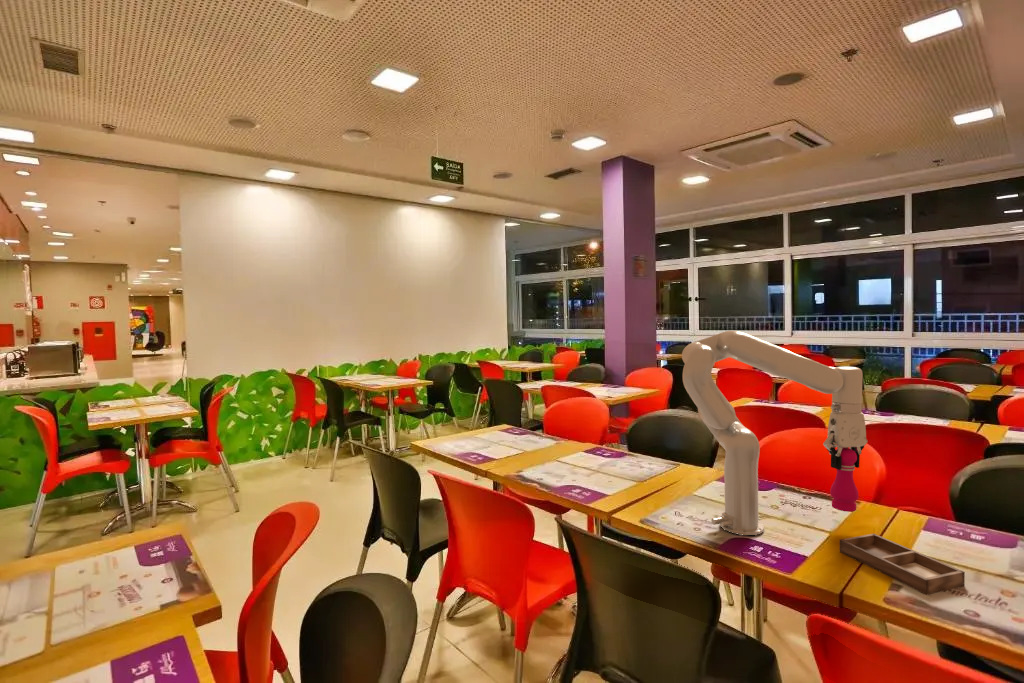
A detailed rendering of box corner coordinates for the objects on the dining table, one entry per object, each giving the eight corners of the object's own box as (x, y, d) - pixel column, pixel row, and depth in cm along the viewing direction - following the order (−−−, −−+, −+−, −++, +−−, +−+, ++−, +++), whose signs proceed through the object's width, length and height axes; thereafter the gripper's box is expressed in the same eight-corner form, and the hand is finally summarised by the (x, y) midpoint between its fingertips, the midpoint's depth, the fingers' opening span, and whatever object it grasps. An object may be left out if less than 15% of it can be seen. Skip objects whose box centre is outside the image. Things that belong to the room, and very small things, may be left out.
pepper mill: (863, 512, 154) (865, 445, 153) (838, 512, 155) (840, 445, 154) (848, 503, 162) (850, 439, 161) (824, 503, 162) (826, 439, 161)
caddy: (926, 594, 122) (926, 580, 122) (839, 552, 145) (839, 539, 145) (964, 586, 125) (964, 571, 125) (873, 545, 148) (873, 533, 148)
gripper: (833, 411, 151) (832, 473, 152) (880, 408, 155) (879, 468, 156) (812, 407, 158) (811, 466, 159) (858, 404, 162) (856, 461, 163)
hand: (844, 466), depth 157 cm, fingers closed on pepper mill, 6 cm apart
